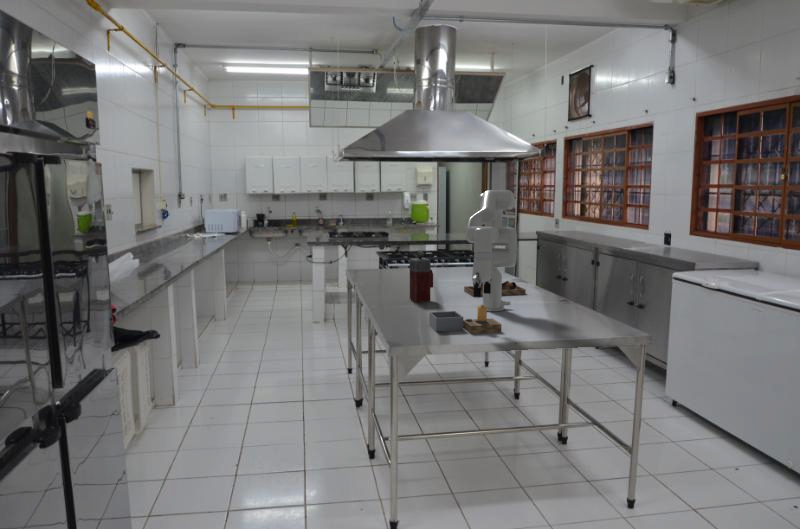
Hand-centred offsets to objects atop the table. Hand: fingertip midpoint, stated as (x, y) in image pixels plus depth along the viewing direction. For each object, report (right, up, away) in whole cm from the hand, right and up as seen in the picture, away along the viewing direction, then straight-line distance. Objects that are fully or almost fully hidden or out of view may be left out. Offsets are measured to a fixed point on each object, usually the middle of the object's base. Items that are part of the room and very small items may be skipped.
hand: (482, 295), depth 248 cm
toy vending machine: (-24, -7, +68) cm, 72 cm away
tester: (0, -16, +3) cm, 16 cm away
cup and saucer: (+12, -4, +87) cm, 88 cm away
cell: (0, -14, +3) cm, 14 cm away
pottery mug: (+28, -4, +89) cm, 93 cm away
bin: (-15, -15, +7) cm, 23 cm away
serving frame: (+20, -4, +88) cm, 91 cm away
